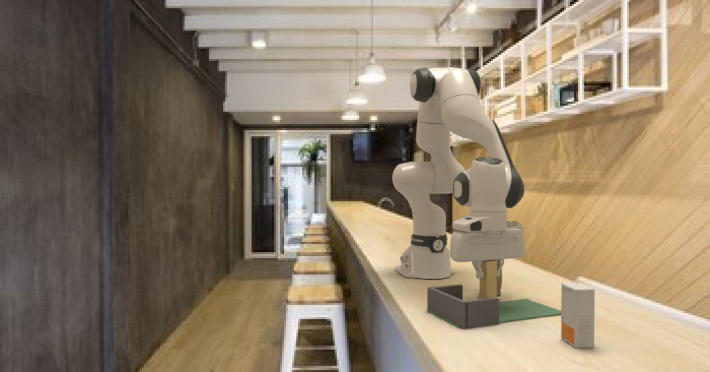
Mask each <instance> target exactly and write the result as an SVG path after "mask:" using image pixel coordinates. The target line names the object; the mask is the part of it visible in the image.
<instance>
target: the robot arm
mask: <svg viewBox="0 0 710 372" xmlns="http://www.w3.org/2000/svg"><path fill="white" fill-rule="evenodd" d="M481 89H482V79H481V76H480V74H479V73H478V72H477V70H475V69H471V68H468V67H467V68H461V67H452V66H446V67H431V68H428V67H422V68H417V69H415V71H414V72H413V73H412V74H411V78H410V81H409V92H410V95H411V97H412V99H413V100H414V101H416V102H419V105H418V112H417V122H416V133H415V134H416V136H415V141H416V145H417V147H418V148H420V149H421V150H422V151H424V152H425V153H427V154H429V155H430V161H408V162H403V163H400V164H398V165H396V167H395V168H394V170H393V172H392V184H393V186H394V188H395V189H396V191H397V192H398V193H400V194H401V195H402V196H403V197H404V198H405V199H406V200H407V202H408V204H409V206H410V209H411V214H412V224H413V225H412V227H413V228H412V229H413V231H412V232H413V233H412V234H410V236H411V237H410V245H409V246H408V247H407V249H405V251H404V252H403V253H402V254H401V256H400V258H399V259H400V263H401V265H398V266H397V265H396V266H394V270H395V271H396V272H397V273H398V274H400V275H402V276H403V277H404V278H415V279H422V280H423V279H424V280H425V279H426V280H429V279H430V280H439V279H446V278H449V277H451V276H452V275H453V274H454V273H455V272H454V270H453V269H452V266H451V265H452V264H451V263H452V261H453V262H457V263H469V262H471V264H472V267H473V268H474V270H475V277H476V279H479V280H480V279H483V278H485V271H482V269H481V267H480V265H482V261H485V260H496V261H497V277H500V270H501V268H502V269H503V266H504V265H505V260H509V259H510V260H511V259H519V258H520V259H521V258H523V257H524V255H525V254H526V246H525V239H524V228H523V227H524V226H522V224H521V223H520V222H519V221H518V220H517V221H516V220H513V221H508V209H512V208H514V207H515V206H517V205H518V204H519V203H520V202H521V200H522V199H523V198H524V195H525V185H524V181H523V178H522V176H521V175H520V173H519V172H518V170H517V169H516V166H515V165H514V163H513V160H512V157H511V154H510V152H509V149H508V147H507V145H506V142H505V140H504V137H503V135H502V132H501V130H500V128H499V125H498V124H497V123H496V122H495V120H493V119H491V118H490V117H489V115H487V114H486V111H484V109H483V107H482V105H481V102H480V97H479V95H480V92H481ZM451 133H452V134H454V135H456V136H458V137H460V138H464V139H467V140H470V141H472V142H475V143H477V144H479V145H481V146H482V147H483V148H484V149H485V150H486V151H487V154H488V156H481V157H477V158H476V157H475V158H474V159H473V160H472V161H471V166H470V167H469V168H468V169H467V170H466V169H465V167H464V166H463V165H462V164H461V163H460V162H459V161H457V159H456V158H455V157H454V154H453V152H452V148H451ZM434 194H435V195H436V194H437V195H438V194H439V195H440V194H441V195H442V194H445V195H446V194H452V195H453V199H454V200H455V201H456V202H457V203H458V204H459V205H460V206H461V207H462V206H463V207H468V208H469V207H470V209H469V210H470V213H469V214H467V215H465V216H463V217H460V218H459V219H456V220H454V221H453V222H452V230H455V231H452V233H451V236H450V244H449V248H448V247H447V245H448V235H447V224H446V223H447V215H446V211H445V209H443V208H442V207H441V206H440V205H438V204H435V203H433V202H432V200H431V198H430V195H434ZM451 259H452V261H451Z"/></svg>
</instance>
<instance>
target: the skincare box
mask: <svg viewBox="0 0 710 372" xmlns="http://www.w3.org/2000/svg"><path fill="white" fill-rule="evenodd" d="M595 293H596V291H595V289H594V288H592V287H590V286H588V285H586V284H583V283H580V282H563V283H561V296H560V297H561V299H560V300H561V301H560V302H561V306H560V307H561V308H560V309H561V315H560V317H561V318H560V319H561V321H560V325H561V326H560V339H562V340H563V341H565V343H568V344H569V345H570V346H572V347H574V349H585V348H586V349H591V348H595Z"/></svg>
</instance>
